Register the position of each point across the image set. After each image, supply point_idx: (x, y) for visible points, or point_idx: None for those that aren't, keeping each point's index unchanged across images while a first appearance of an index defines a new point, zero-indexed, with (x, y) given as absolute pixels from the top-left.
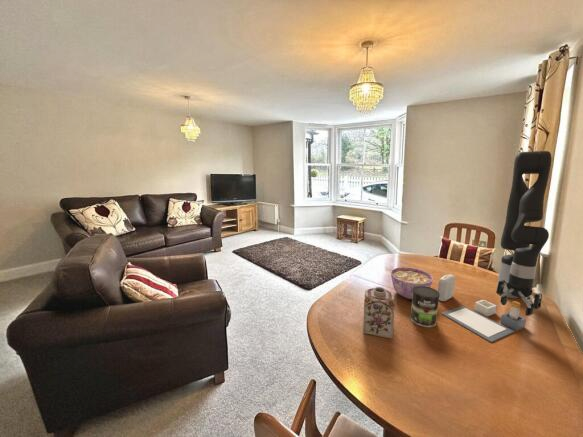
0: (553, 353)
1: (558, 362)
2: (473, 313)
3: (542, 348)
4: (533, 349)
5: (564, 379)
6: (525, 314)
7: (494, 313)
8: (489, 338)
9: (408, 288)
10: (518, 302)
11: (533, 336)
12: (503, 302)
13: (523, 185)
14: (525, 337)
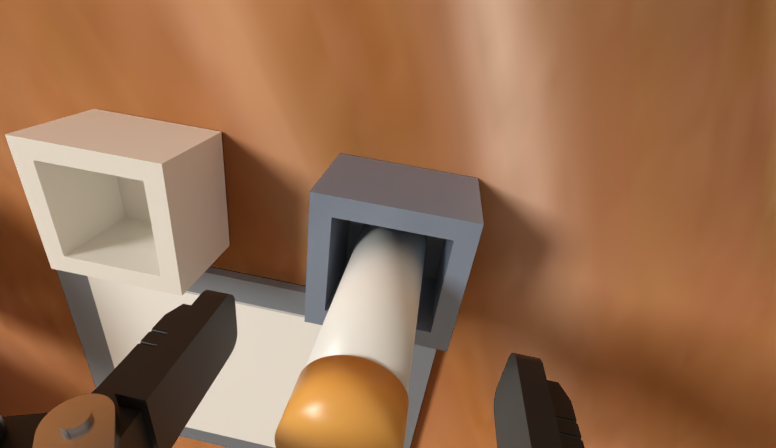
0: (694, 376)
1: (713, 437)
2: (167, 303)
3: (629, 369)
4: (581, 410)
5: None
6: (495, 407)
7: (220, 148)
8: None
9: None
10: (349, 420)
11: (562, 267)
12: (212, 380)
13: None
14: (518, 322)
